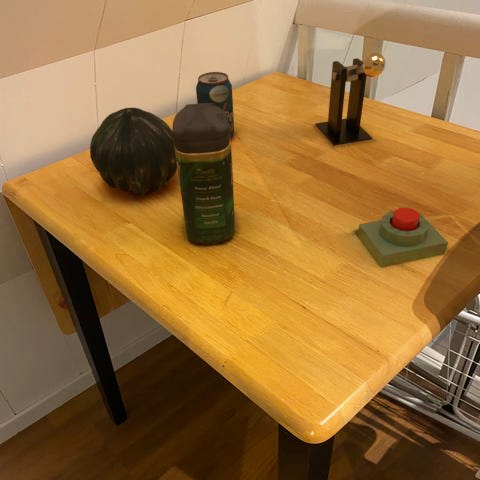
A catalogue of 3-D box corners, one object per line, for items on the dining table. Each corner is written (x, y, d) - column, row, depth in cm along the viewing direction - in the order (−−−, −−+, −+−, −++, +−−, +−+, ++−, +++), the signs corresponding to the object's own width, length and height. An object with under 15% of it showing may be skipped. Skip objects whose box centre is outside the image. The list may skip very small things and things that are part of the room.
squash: (122, 127, 93) (83, 85, 78) (196, 136, 90) (169, 95, 75) (107, 199, 93) (64, 171, 78) (180, 211, 90) (150, 184, 75)
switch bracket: (371, 144, 95) (383, 69, 85) (333, 151, 94) (340, 75, 84) (350, 124, 102) (359, 52, 92) (314, 129, 101) (319, 57, 91)
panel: (416, 224, 76) (422, 202, 73) (444, 254, 70) (451, 231, 67) (357, 236, 74) (360, 213, 72) (380, 267, 69) (385, 244, 66)
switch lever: (389, 74, 79) (389, 49, 78) (369, 76, 79) (368, 52, 78) (355, 84, 92) (354, 63, 90) (337, 87, 91) (336, 65, 90)
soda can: (234, 145, 98) (231, 83, 89) (200, 147, 98) (193, 84, 89) (234, 130, 102) (231, 69, 94) (202, 132, 103) (195, 71, 94)
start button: (409, 215, 71) (412, 205, 70) (422, 229, 69) (424, 218, 68) (386, 220, 71) (389, 209, 70) (398, 234, 68) (401, 223, 67)
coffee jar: (237, 244, 74) (230, 124, 61) (186, 248, 74) (167, 129, 61) (234, 210, 81) (227, 95, 68) (186, 213, 81) (170, 99, 68)
